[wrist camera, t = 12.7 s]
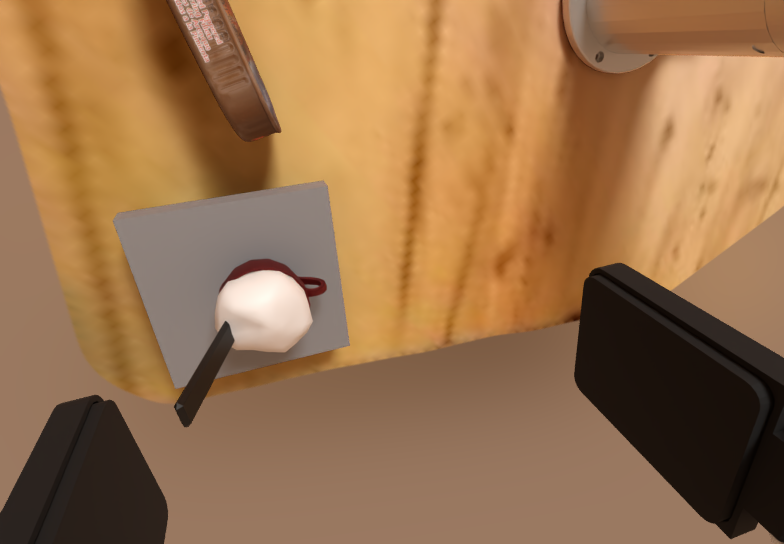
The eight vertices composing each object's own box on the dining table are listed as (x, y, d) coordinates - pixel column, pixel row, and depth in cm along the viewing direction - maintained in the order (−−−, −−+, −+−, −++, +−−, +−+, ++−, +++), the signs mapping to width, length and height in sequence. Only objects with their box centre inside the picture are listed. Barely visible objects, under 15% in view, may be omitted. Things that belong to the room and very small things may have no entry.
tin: (279, 120, 35) (293, 140, 28) (240, 136, 35) (243, 160, 27) (173, -127, 27) (153, -188, 20) (121, -111, 27) (82, -167, 20)
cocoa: (321, 253, 36) (370, 330, 25) (307, 325, 38) (349, 423, 27) (186, 241, 32) (180, 326, 21) (179, 322, 34) (171, 436, 23)
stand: (315, 170, 37) (327, 186, 33) (337, 316, 44) (349, 345, 40) (127, 198, 34) (112, 220, 30) (180, 352, 40) (175, 388, 36)
